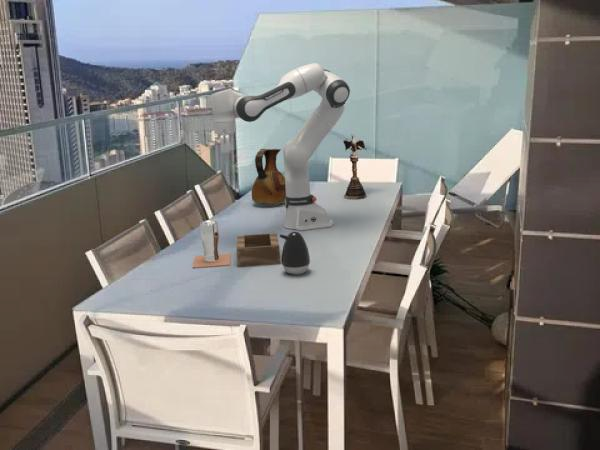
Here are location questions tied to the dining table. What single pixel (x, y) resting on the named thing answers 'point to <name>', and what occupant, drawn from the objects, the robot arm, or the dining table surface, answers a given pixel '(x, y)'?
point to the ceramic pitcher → (268, 179)
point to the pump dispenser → (295, 254)
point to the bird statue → (354, 170)
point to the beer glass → (210, 240)
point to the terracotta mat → (223, 261)
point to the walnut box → (258, 249)
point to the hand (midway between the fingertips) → (227, 162)
